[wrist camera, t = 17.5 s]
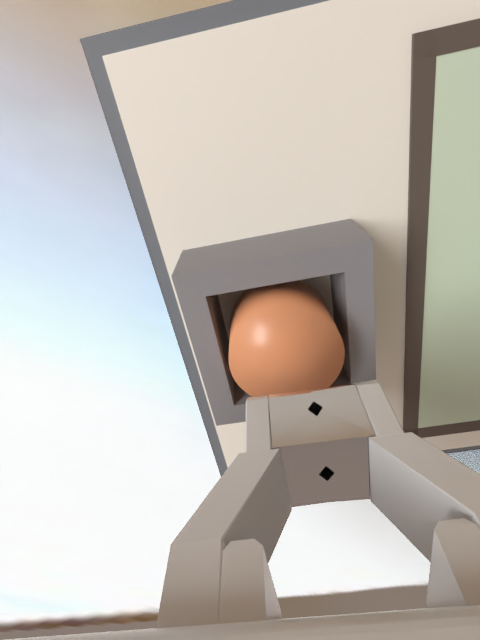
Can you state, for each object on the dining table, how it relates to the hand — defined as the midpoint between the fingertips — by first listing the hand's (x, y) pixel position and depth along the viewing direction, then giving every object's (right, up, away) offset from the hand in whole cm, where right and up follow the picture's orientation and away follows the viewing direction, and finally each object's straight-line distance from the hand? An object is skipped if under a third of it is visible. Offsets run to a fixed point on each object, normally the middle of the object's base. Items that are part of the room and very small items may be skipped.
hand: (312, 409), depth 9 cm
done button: (0, +2, +4) cm, 5 cm away
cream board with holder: (+6, +4, +5) cm, 9 cm away
